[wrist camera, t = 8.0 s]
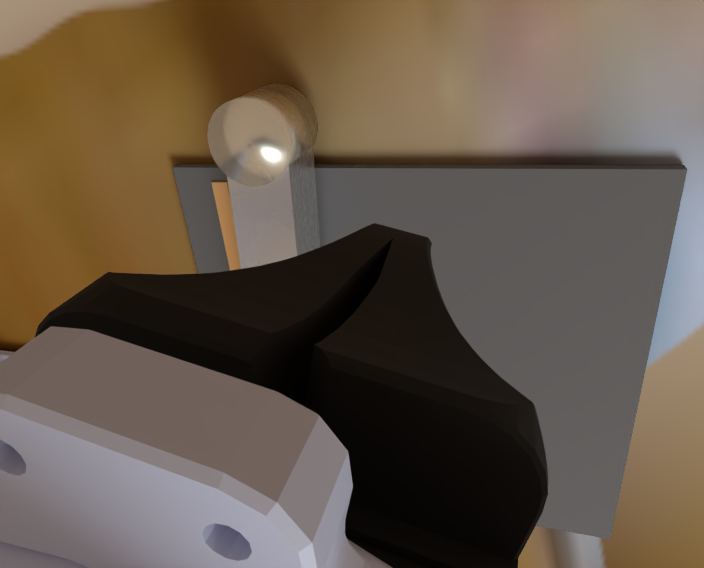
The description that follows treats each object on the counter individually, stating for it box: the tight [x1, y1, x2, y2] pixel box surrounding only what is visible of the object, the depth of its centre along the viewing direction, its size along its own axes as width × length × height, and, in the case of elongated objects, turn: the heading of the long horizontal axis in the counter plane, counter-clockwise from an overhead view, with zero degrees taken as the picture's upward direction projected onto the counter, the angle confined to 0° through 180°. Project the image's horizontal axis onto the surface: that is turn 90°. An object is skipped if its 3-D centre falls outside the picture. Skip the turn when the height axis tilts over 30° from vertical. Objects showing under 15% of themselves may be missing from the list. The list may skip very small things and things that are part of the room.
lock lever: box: [207, 83, 320, 269], centre depth 19 cm, size 14×4×2 cm, turn 3°
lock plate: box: [172, 164, 687, 539], centre depth 21 cm, size 16×15×1 cm
